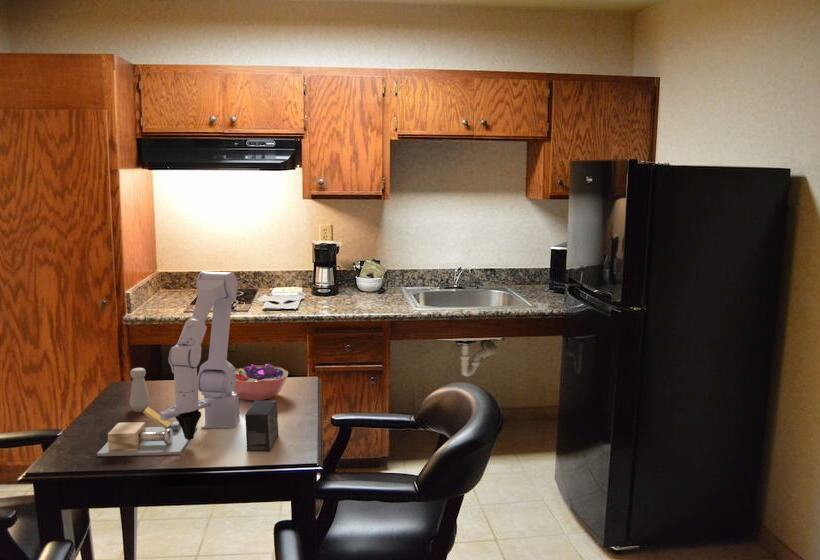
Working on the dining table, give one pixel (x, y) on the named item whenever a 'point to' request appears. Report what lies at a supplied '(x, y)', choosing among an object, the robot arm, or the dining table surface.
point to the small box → (261, 426)
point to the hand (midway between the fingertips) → (189, 438)
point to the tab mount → (175, 426)
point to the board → (152, 445)
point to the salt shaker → (139, 391)
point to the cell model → (259, 382)
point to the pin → (157, 436)
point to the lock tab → (157, 418)
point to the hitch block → (125, 436)
